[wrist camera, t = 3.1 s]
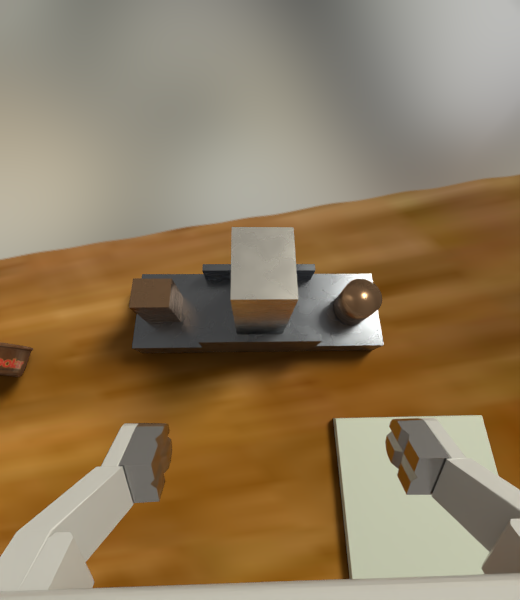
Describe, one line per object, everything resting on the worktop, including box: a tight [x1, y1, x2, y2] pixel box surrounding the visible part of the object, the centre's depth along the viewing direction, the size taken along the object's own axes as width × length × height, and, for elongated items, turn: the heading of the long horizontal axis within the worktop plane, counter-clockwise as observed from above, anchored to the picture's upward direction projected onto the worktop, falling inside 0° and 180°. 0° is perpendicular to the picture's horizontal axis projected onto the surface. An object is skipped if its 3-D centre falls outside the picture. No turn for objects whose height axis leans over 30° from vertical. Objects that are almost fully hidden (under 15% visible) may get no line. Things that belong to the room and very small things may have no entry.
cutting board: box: [333, 415, 498, 579], centre depth 23 cm, size 13×13×1 cm
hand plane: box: [129, 264, 384, 353], centre depth 25 cm, size 22×7×6 cm, turn 91°
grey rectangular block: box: [230, 227, 298, 335], centre depth 22 cm, size 4×5×9 cm
